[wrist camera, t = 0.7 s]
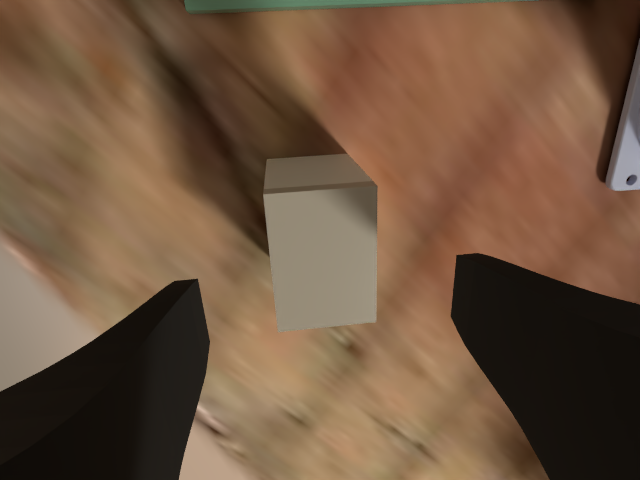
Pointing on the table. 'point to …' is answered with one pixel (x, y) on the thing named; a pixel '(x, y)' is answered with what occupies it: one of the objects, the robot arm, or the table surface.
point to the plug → (321, 241)
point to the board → (306, 4)
